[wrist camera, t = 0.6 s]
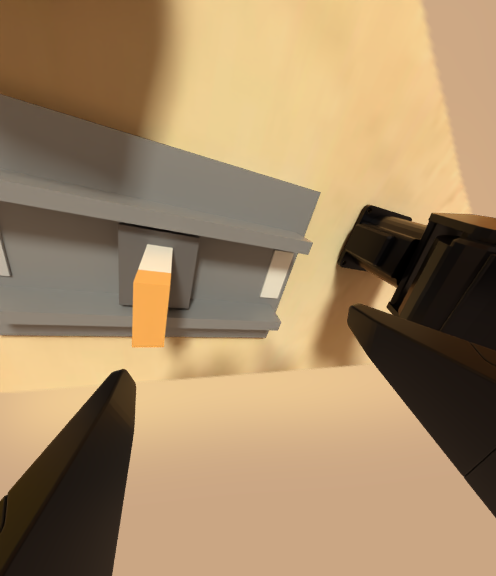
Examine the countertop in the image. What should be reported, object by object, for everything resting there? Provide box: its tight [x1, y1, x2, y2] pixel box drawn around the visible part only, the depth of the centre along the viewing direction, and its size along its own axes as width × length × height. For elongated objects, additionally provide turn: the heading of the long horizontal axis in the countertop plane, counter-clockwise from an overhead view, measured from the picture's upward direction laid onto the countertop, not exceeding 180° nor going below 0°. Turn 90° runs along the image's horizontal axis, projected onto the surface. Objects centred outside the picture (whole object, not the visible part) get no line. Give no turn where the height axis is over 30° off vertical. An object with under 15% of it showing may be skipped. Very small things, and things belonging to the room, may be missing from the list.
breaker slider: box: [118, 222, 200, 347], centre depth 14 cm, size 5×6×7 cm
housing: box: [0, 94, 321, 338], centre depth 16 cm, size 24×16×4 cm, turn 75°
